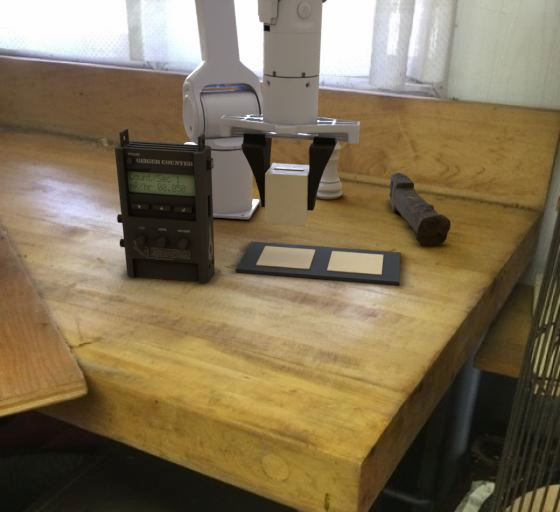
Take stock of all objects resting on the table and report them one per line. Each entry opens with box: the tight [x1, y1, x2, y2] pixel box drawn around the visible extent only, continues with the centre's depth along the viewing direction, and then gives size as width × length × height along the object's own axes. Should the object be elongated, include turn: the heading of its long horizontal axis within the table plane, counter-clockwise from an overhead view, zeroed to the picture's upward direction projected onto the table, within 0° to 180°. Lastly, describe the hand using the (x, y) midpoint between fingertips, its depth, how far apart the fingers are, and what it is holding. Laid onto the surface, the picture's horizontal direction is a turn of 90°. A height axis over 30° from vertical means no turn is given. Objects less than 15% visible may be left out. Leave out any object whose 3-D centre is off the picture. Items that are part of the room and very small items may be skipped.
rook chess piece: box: [316, 142, 343, 200], centre depth 101 cm, size 4×4×8 cm
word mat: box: [235, 241, 402, 286], centre depth 80 cm, size 18×9×1 cm, turn 81°
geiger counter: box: [114, 128, 216, 285], centre depth 72 cm, size 10×4×15 cm, turn 80°
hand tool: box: [389, 172, 451, 247], centre depth 92 cm, size 19×4×5 cm, turn 5°
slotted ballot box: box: [264, 162, 311, 227], centre depth 76 cm, size 4×4×6 cm
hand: (287, 206), depth 77 cm, fingers closed on slotted ballot box, 4 cm apart
